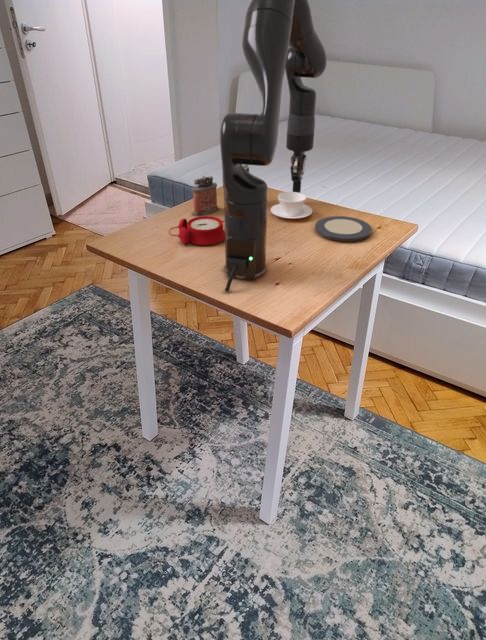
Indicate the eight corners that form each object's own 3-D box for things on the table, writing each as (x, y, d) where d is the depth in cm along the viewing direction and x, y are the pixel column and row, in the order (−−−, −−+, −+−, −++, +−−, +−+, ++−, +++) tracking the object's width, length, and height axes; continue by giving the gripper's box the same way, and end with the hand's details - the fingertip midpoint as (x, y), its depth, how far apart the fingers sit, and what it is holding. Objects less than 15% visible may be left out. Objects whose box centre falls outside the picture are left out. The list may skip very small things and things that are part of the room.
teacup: (289, 204, 146) (290, 186, 143) (320, 214, 139) (322, 196, 136) (261, 214, 139) (262, 196, 136) (293, 226, 132) (294, 207, 129)
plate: (369, 246, 123) (370, 241, 122) (311, 239, 126) (311, 234, 125) (372, 223, 134) (373, 218, 134) (318, 218, 137) (319, 213, 136)
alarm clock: (231, 231, 121) (171, 221, 117) (226, 254, 124) (168, 245, 120) (227, 215, 129) (171, 205, 125) (222, 237, 132) (168, 228, 129)
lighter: (212, 206, 144) (211, 172, 138) (220, 209, 142) (219, 175, 136) (191, 213, 139) (188, 178, 133) (198, 216, 137) (196, 181, 131)
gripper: (291, 124, 139) (287, 184, 149) (282, 135, 128) (279, 199, 139) (317, 126, 137) (312, 186, 148) (310, 137, 127) (305, 202, 138)
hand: (296, 193), depth 143 cm, fingers closed
